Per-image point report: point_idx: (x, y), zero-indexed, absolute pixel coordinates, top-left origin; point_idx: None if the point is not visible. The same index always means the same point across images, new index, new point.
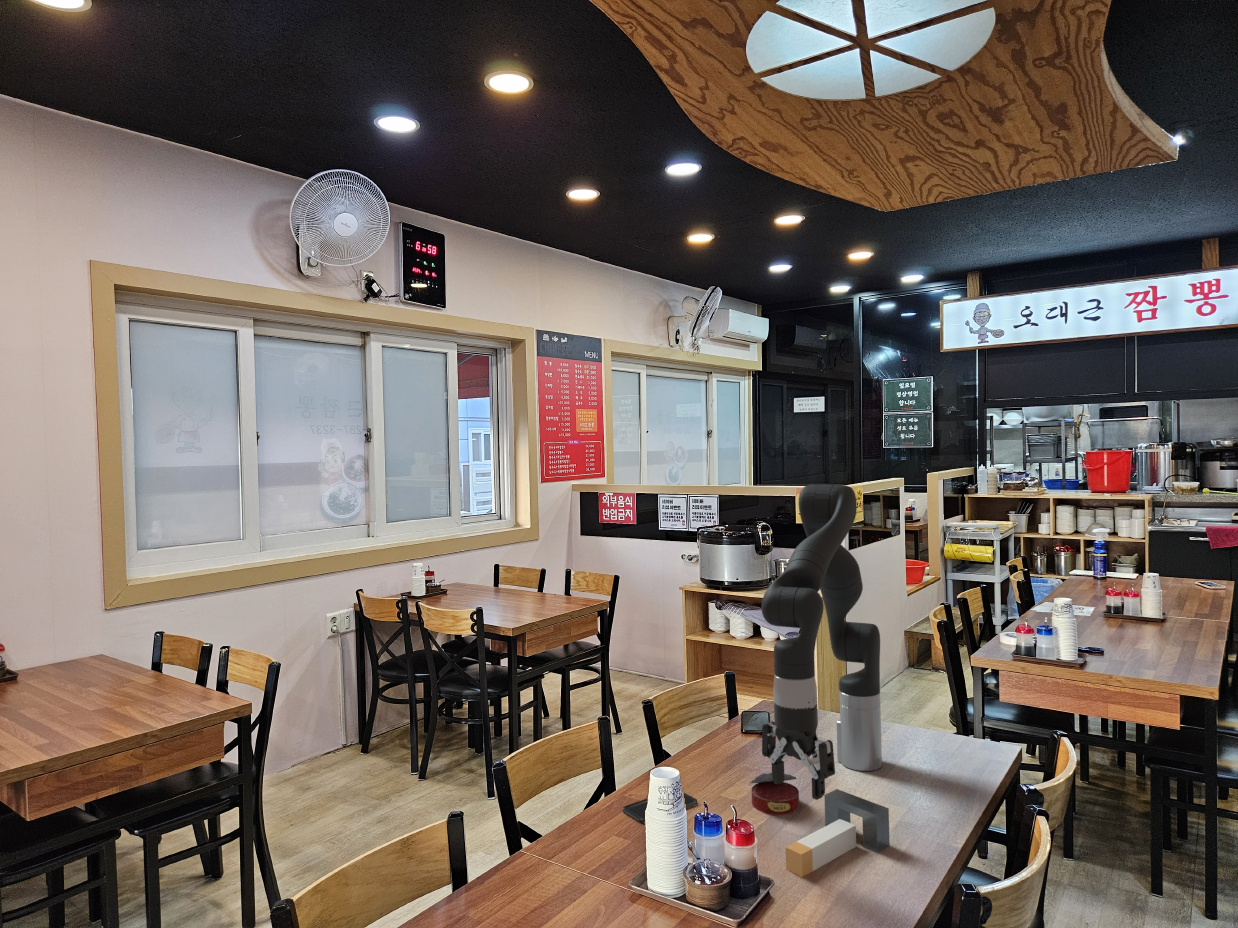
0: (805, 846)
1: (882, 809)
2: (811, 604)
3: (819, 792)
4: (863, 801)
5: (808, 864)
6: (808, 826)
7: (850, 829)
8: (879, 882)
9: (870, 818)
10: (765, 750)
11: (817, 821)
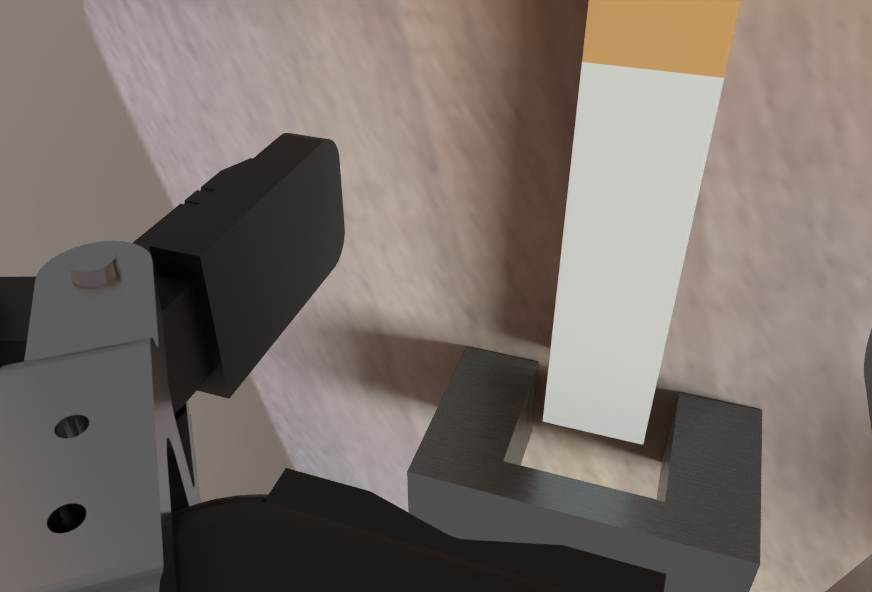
0: (633, 57)
1: None
2: None
3: (212, 181)
4: None
5: None
6: (865, 408)
7: (548, 381)
8: (318, 136)
9: (451, 456)
10: None
11: (843, 466)
